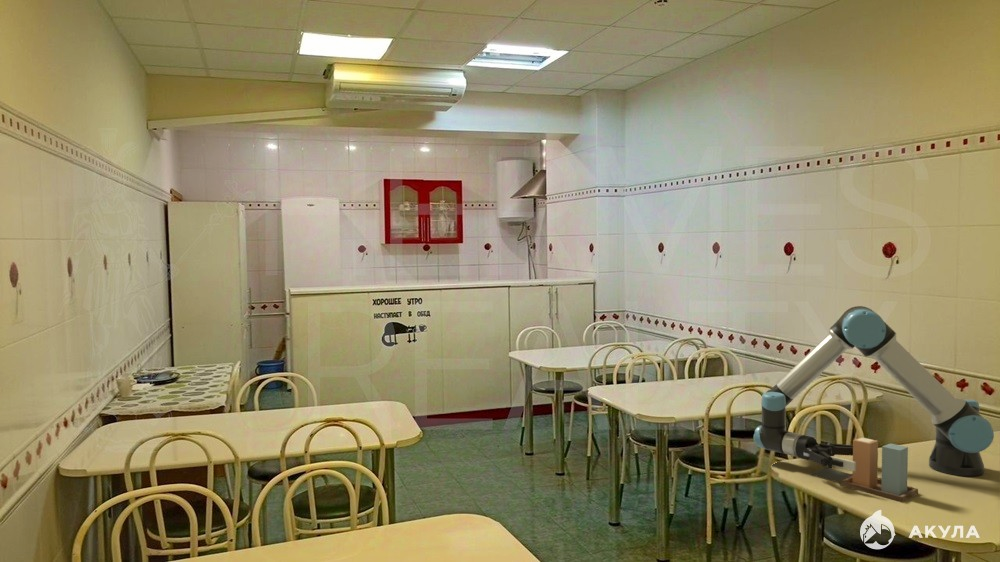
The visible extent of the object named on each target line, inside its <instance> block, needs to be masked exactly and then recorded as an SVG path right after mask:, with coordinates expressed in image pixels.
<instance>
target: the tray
mask: <svg viewBox="0 0 1000 562" xmlns="http://www.w3.org/2000/svg"><path fill="white" fill-rule="evenodd" d="M881 483H882V478H881V479H880V478H877V487H874V488H868V487H864V486H861V485H857V484H853V476H851V477H848V478H846V479H844V480H841V481H840V483H839V484H840V487H844V488H848V489H851V490H854V491H859V492H862V493H866V494H869V495H873V496H877V497H880V498H882V499H883V498H884V499H887V500H891V501H894V502H899V503H903V502H905V501H907V500H909V499H911V498H913V497H915V496H916V495H918V494H919V488H917V487H912V486H908V485H907V493H905V494H903V495H901V496H898V495H894V494H890V493H887V492H883V491H881Z"/></svg>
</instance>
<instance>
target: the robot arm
mask: <svg viewBox="0 0 1000 562" xmlns="http://www.w3.org/2000/svg"><path fill="white" fill-rule="evenodd" d="M854 348H856V349H857V350H858V351H859V352H860V353H861V354H862V355H863V356H864V357H865V358H872V359H874V360H875V361H876V362H877V363H878V364H879V365H880V366H881V367H882V368H883V369H884V370H885V371H886V372H888V374H889V375H891V377H892V378H894V380H896V381H897V383H898V384H900V386H902V388H903V389H905V390H906V391H907V392H908V393H909V395H910V396H912V398H914V400H915V401H917V403H919V404H920V406H922V407H923V409H925V410H926V412H928V413H929V414H930V415H931V424H933V426H935V443H934V445H933V448H932V450H931V452H930V455H929V459H928V466H929V467H930V468H931V469H933V470H936V471H938V472H941V473H945V474H949V475H953V476H954V475H955V476H964V477H975V476H982V475H983V474H985V464H984V462H983V458H982V456H981V452H983V451H985V450H987V448H989V447H990V446H991V445H992V443H993V441H994V437H995V435H994V434H995V433H994V429H993V427H992V424H991V423H990V422H989V421H988V419H986V418H984V417H983V416H982V415H981V414H980V410H981V409H980V403H979V402H978V401H977V400H973V399H968V398H967V399H966V398H958V397H955V396H954V395H953V394H952V393H951V392H950V391H949V390H948V389H947V388H946V387H945V386H944V385H943V384H942V383H941V382H940V381H939V380H938V379H936V377H934V375H932V373H930V372H929V370H927V369H926V368H925V367H924V366H923V364H921V363H920V362H919V361H918V360H917V359H916V358H915V357H914V356H913V355H912V354H911V353H910V352H909V351H908V350H907V349H906V348H905V347H904V346H903V345H902V344H901V343H900V342H898V340H897V332H896V331H895V330H893V328H892V327H890V326H889V324H887V322H885V321H884V319H883V318H882V316H880V315H879V314H878V313H876V312H875V311H874V310H872V309H871V308H869V307H867V306H862V305H861V306H859V305H858V306H857V305H856V306H853V307H849V308H848V309H846V311H844V312H843V314H842V315H841V316H840V317H839V319H837V320H836V321H835V323H834V324H832V326H830V328H829V329H828V334H827V335H826V336H825V337H824V338H823V339H822V340H821V341H820V342H819V343H818V344H817V345H815V346H814V348H812V349H811V350H810V351H809V352H808V353H806V355H805V356H804V357H803V358H802V359H801V360H800V361H799V362H798V363H796V365H795V366H794V367H792V368H791V370H789V371H788V372H787V373H786V374H785V375H784V376H783V377H782V378H781V379H780V380H779V381H778V382H777V383H776V384H775V385H774V386H773V387H772V388H770V389H768V390H766V392H764V393H763V394H762V395H761V425H758V426H757V427H756V428H755V429H754V434H753V442H754V443H755V445H756V446H757V447H758V448H761V449H765V450H767V451H771V452H775V453H780V454H783V455H787V456H790V457H791V458H794V457H795V458H799V459H803V460H806V461H811V462H813V463H816V464H818V465H820V466H821V467H823V468H829V469H832V468H833V467H835V468H839V469H843V470H848V471H851V472H853V471H856V462H854V461H853V460H850V459H845V458H841V457H836V456H852V457H853V444H845V443H844V444H843V443H835V442H834V443H833V442H828V441H825V442H824V443H822V442H821V443H818V442H817V439H816V438H815V437H813V436H810V435H807V434H805V435H804V434H801V433H798V432H797V433H796V432H792V431H787V430H786V416H787V415H786V413H787V412H786V411H787V410H786V409H787V408H786V407H787V406H788V405H790V403H791V402H793V401H794V400H795V398H796V397H798V396H799V394H801V393H802V392H803V391H804V390H806V388H807V387H809V385H810V384H811V383H813V382H814V381H815V380H816V379H817V378H818V377H819V376H820V375H821V374H822V373H823V372H824V371H826V370H827V369H828V368H829V367H830V366H831V365H832V364H833V363H834V362H836V360H837V359H839V357H840V356H842V355H843V354H844V353H845V352H846V351H847V350H853V349H854Z"/></svg>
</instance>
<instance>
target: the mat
mask: <svg viewBox="0 0 1000 562" xmlns="http://www.w3.org/2000/svg"><path fill="white" fill-rule="evenodd" d="M809 475H810V476H813V477H817V478H820V479H821V478H822V479H825V480H829V481H832V482H836V483H839V484H840V481H841V480H844V479H846V478H848V477H851V476H853V473H852V474H851V473H847V472H844V471H842V470H841V471H840V470H836V469H832V468H828V467H823V468H822V469H819V470H816V471H814V472H812V473H809Z"/></svg>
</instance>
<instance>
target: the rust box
mask: <svg viewBox="0 0 1000 562" xmlns="http://www.w3.org/2000/svg"><path fill="white" fill-rule="evenodd" d="M852 445H853V456H852V461H854V462H856V471H852V475H853V484H857V485H861V486H864V487H868V488H874V487H877V479H878V465H879V463H878V462H879V440H876V439H871V438H867V437H862V436H860V437H858V438H855V439H853V440H852Z"/></svg>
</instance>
